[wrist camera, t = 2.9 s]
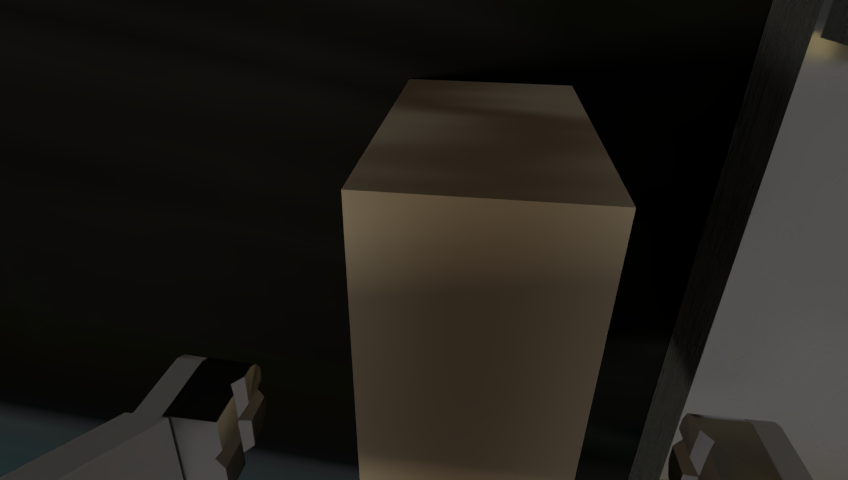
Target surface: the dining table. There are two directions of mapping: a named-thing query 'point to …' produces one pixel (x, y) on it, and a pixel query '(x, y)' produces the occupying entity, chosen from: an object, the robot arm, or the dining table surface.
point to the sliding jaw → (837, 23)
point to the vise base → (771, 262)
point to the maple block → (480, 281)
